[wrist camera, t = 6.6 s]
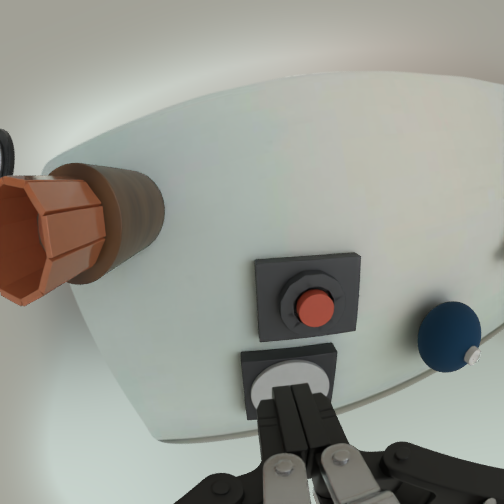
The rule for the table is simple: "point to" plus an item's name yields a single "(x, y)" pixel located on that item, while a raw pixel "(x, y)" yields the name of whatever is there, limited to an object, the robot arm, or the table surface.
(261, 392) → the scale
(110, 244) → the stand
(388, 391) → the table surface
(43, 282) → the orange wooden cup
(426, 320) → the christmas ornament
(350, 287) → the red push button box
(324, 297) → the button
